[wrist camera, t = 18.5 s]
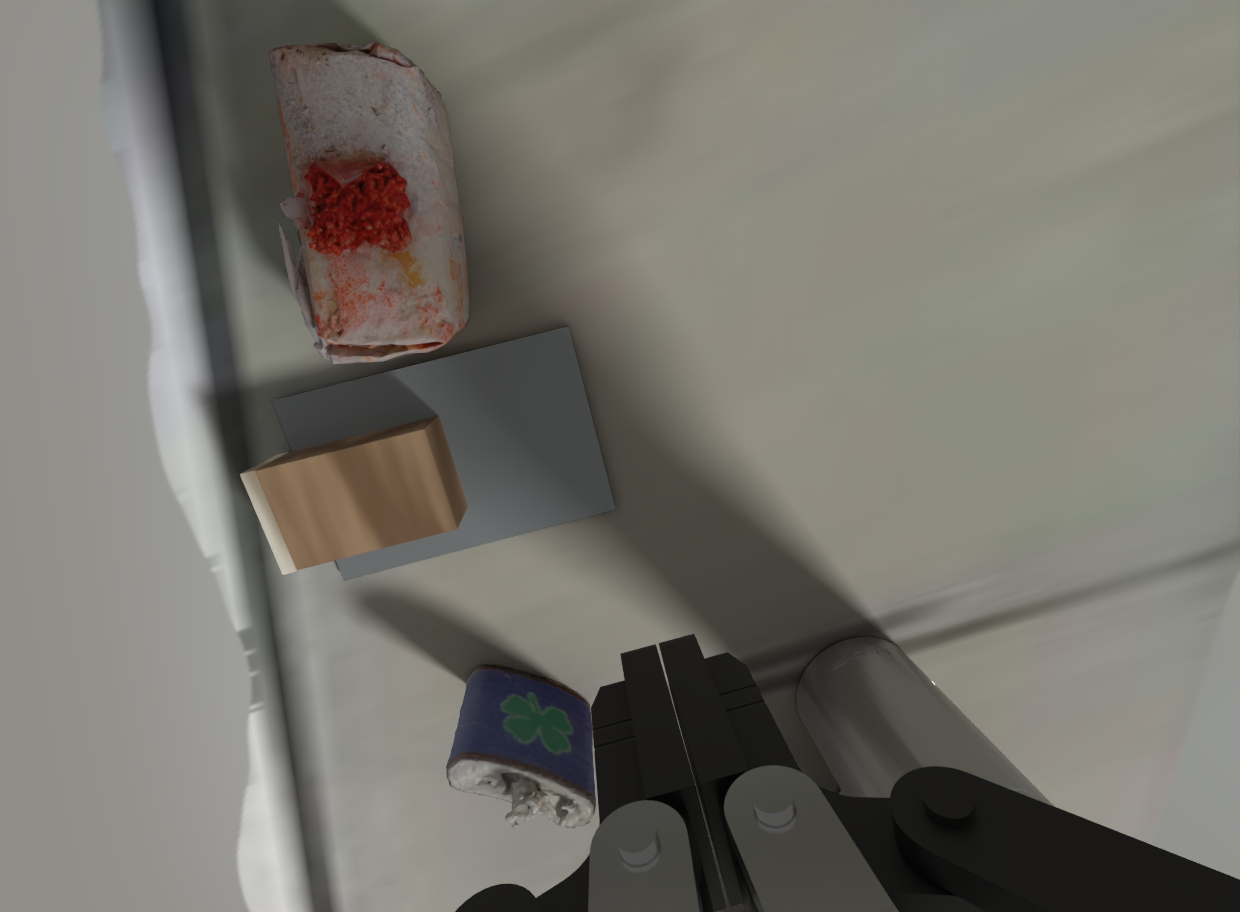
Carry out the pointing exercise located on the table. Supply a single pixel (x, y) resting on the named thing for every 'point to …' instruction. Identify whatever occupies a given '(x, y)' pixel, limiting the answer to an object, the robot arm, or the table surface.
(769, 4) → the table surface
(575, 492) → the mat
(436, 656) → the table surface
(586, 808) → the flask
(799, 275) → the table surface
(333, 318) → the food item
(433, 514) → the wooden block
